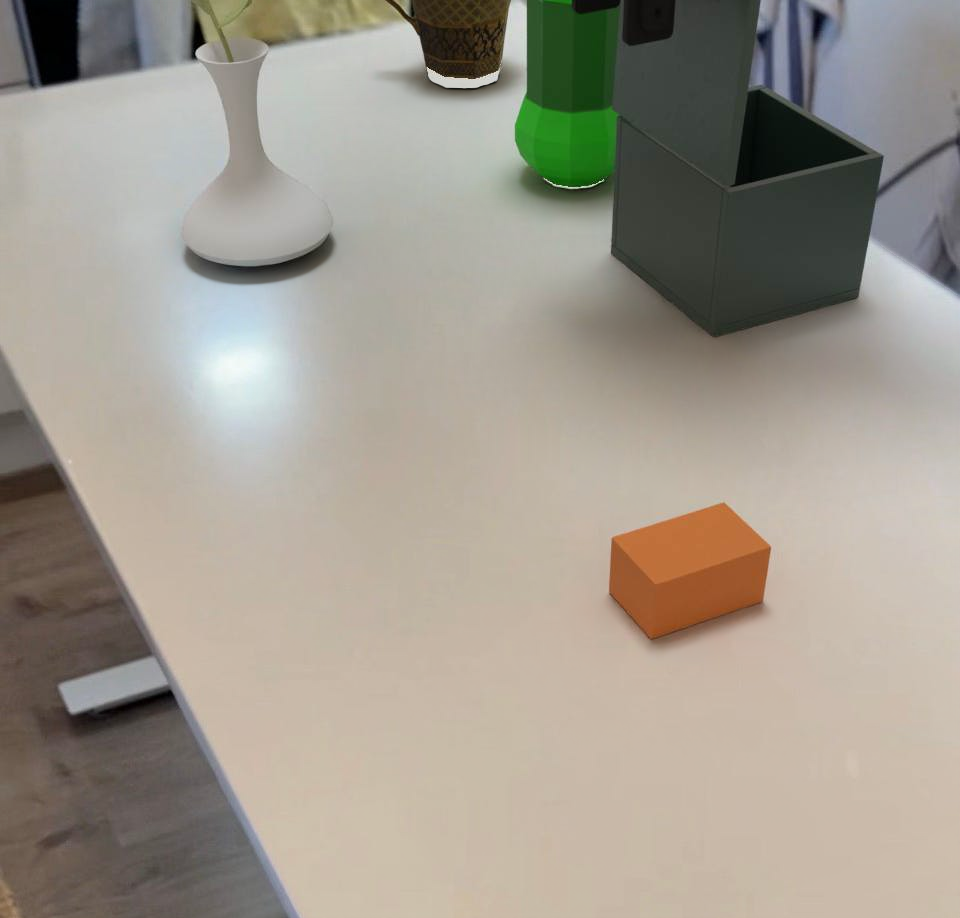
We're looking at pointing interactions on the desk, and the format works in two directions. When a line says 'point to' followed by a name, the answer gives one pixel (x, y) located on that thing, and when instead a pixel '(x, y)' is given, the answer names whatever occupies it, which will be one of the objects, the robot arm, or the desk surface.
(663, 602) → the block
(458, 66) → the ceramic cup
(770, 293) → the bin
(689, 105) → the bin lid
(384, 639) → the desk surface
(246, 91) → the flower in vase
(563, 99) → the plastic bottle
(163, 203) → the desk surface
